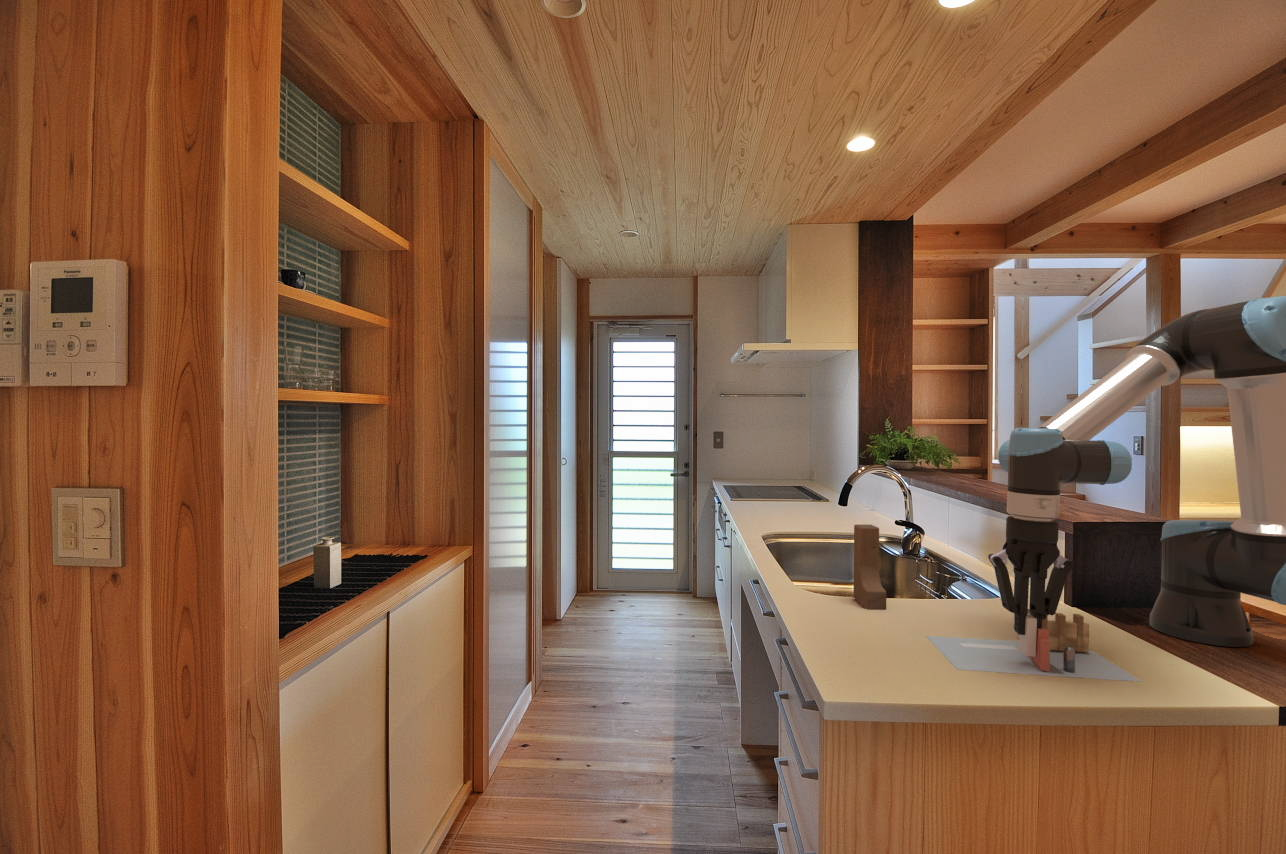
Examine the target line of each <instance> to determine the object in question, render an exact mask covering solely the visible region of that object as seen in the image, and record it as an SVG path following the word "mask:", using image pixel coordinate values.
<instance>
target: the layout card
mask: <svg viewBox="0 0 1286 854" xmlns="http://www.w3.org/2000/svg"><path fill="white" fill-rule="evenodd" d="M925 637H926V638H927V639H928V641H930V642H931V643H932V644H933V645H934V646H935V647H936V648H937V650H939V652H940V653H941V654H942V655H943V656H944V657H945V658H946V659H947V660H948V661H949V662H950V663H951V664H952V666H954V667H955V669H956V670H958V671H959V670H960V671H972V672H973V671H974V672H987V673H988V672H989V673H1004V674H1019V675H1032V676H1033V675H1035V676H1049V677H1061V678H1062V677H1064V678H1079V679H1093V680H1111V681H1126V682H1136V683H1137V682H1138V683H1139V682H1140V683H1141V682H1142V683H1143V681H1142V680H1141V679H1139V678H1137V677H1136V676H1134V675H1133V674H1131V673H1129V672H1128V671H1126V670H1124V669H1123V668H1121V667H1120V666H1118V665H1116V664H1115V663H1113V662H1112V661H1111V660H1108V659H1107V658H1106V657H1103V656H1102V655H1100V654H1099V653H1097V652H1095V651H1093V650H1092V649H1090V648H1089V652H1077V651H1075V673H1069V672H1066V671H1064V670H1063V654H1064V651H1059V650H1050V671H1044V670H1041V669H1040V668H1038V666H1037V665H1036V663H1035V662H1034V661H1033V660H1032V659H1031V658H1030V657H1029V656H1026V655H1024V654H1023V653H1022V652H1021V651H1019V650H1018V648H1019V640H1003V639H990V638H989V639H987V638H973V637H972V638H969V637H954V636H953V637H951V636H938V635H926V636H925Z"/></svg>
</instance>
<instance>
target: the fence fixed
mask: <svg viewBox="0 0 1286 854" xmlns="http://www.w3.org/2000/svg"><path fill="white" fill-rule="evenodd" d="M1054 615H1055V617H1054V620H1050V619H1049V620H1048V618H1049V615H1047V616H1046V619H1044V620H1042V629H1047V630H1048V631H1049V641H1050V650H1059V651H1064V646H1065V645H1067V646H1072V647H1075V651H1077V652H1089V649H1090V623H1087V622H1085V621H1084V619H1085V617H1084V616H1083V615H1082V614H1080V613H1078V614H1077V613H1073V615H1072V621H1066V619H1067V618H1066V617H1067V616H1066V615H1065V614H1063V613H1061V612H1056V613H1055V614H1054Z"/></svg>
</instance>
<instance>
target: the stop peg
mask: <svg viewBox="0 0 1286 854" xmlns="http://www.w3.org/2000/svg"><path fill="white" fill-rule="evenodd" d="M1063 670H1064V671H1066V672H1069V673H1075V647H1072V646H1067V645H1065V646H1064V654H1063Z"/></svg>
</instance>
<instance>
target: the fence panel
mask: <svg viewBox="0 0 1286 854" xmlns="http://www.w3.org/2000/svg"><path fill="white" fill-rule="evenodd" d="M1029 657H1030V658H1031V659H1032V660H1033V661H1034V662H1035V663H1036V665H1037V666H1038V668H1040V669H1041V670H1044V671H1050V641H1049V631H1048V630H1047V629H1042V628H1037V636H1036V655H1035V657H1033V656H1029Z"/></svg>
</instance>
